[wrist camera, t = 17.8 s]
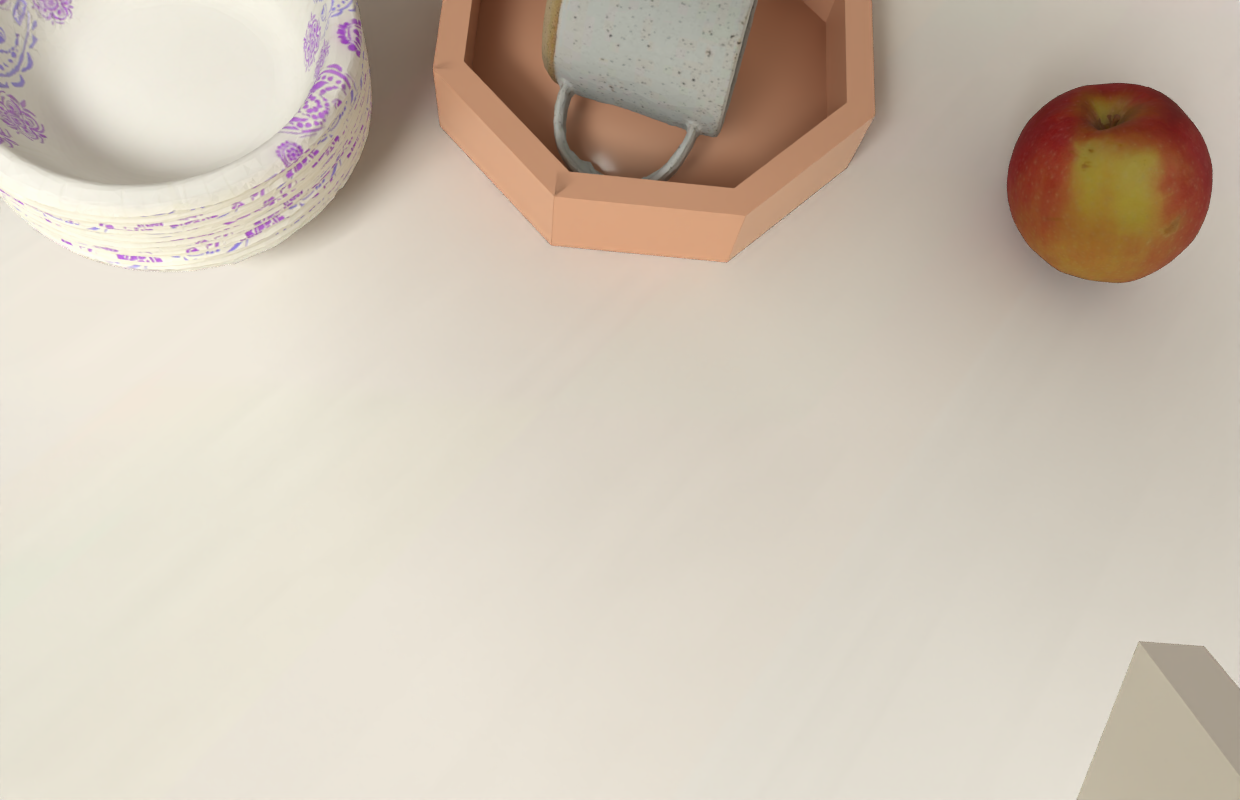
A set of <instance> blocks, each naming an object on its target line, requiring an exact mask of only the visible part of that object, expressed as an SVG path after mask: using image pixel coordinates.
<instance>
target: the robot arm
mask: <svg viewBox="0 0 1240 800" xmlns="http://www.w3.org/2000/svg"><path fill="white" fill-rule="evenodd" d="M1077 800H1240V689H1239V687H1238V686H1237V685H1236V684H1235V683H1234V681H1233V680H1232V679H1231V678H1230V677H1229V675H1228V674H1227V673H1226V672H1225V671H1224V669H1223V668H1222V667H1221V666H1220V665H1219V663H1218V662H1217V661H1216V660H1215V659H1214V657H1213V656H1212V655H1211V654H1210V653H1209V651H1208V650H1207V649H1206V648H1205V647H1204V646H1194V645H1181V644H1167V643H1154V642H1141V641H1139V642H1138V645H1137V647H1136V650H1135V652H1134V655H1133V658H1132V660H1131V663H1130V665H1129V668H1128V670H1127V673H1126V675H1125V678H1124V680H1123V683H1122V686H1121V688H1120V691H1119V693H1118V696H1117V698H1116V701H1115V703H1114V706H1113V708H1112V711H1111V714H1110V716H1109V719H1108V721H1107V724H1106V726H1105V729H1104V731H1103V734H1102V736H1101V739H1100V742H1099V744H1098V747H1097V749H1096V752H1095V754H1094V757H1093V759H1092V762H1091V764H1090V767H1089V770H1088V772H1087V775H1086V777H1085V780H1084V782H1083V785H1082V787H1081V790H1080V792H1079V795H1078V798H1077Z"/></svg>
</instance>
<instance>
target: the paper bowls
mask: <svg viewBox="0 0 1240 800" xmlns="http://www.w3.org/2000/svg"><path fill="white" fill-rule="evenodd" d="M371 110H372V88H371V77H370V66H369V61H368V54H367V48H366V44H365V37H364V33H363V29H362V24H361V18H360V12H359V7H358V3H357V0H0V196H1V197H2V198H3V200H4V201H5V202H6V203H7V204H8V205H9V206H10V207H11V208H12V209H13V210H14V211H15V212H16V213H17V214H18V215H19V216H20V217H22V218H23V219H24V220H25V221H26V222H27V223H28V224H29V225H30V226H31V227H33V228H34V229H35V230H37V231H38V232H39V233H41V234H42V235H44V236H45V237H46V238H48V239H50V240H51V241H53V242H55V243H56V244H58V245H60V246H62V247H64V248H66V249H68V250H70V251H72V252H74V253H76V254H78V255H80V256H82V257H85V258H88V259H91V260H93V261H96V262H100V263H103V264H107V265H111V266H116V267H121V268H125V269H131V270H139V271H158V272H185V271H197V270H202V269H207V268H213V267H220V266H225V265H228V264H235V263H238V262H240V261H243V260H244V259H247V258H250V257H252V256H254V255H256V254H258V253H261V252H264V251H266V250H269V249H271V248H273V247H275V246H276V245H278V244H279V243H281V242H282V241H284V240H285V239H287V238H288V237H290V236H291V235H292V234H293V233H294V232H296V231H297V230H299V229H300V228H301V227H303V226H304V225H305V224H307V223H308V222H309V221H311V220H312V219H313V218H315V217H316V216H317V215H318V214H319V213H320V212H321V211H323V210H324V208H325V207H326V206H327V205H328V203H329V202H330V201H331V200H333V199H334V197H335V196H336V195H335V194H336V193H337V192H338V190H339V189H341V188H342V187H343V186H344V185H345V183H346V182H347V181H348V179H349V177H350V175H351V174H352V172H353V170H354V167H355V165H356V164H357V163H358V160H359V158H360V156H361V153H362V150H363V148H364V146H365V143H366V140H367V137H368V133H369V125H370V120H371V114H372V112H371Z"/></svg>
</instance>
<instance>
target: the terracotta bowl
mask: <svg viewBox="0 0 1240 800" xmlns="http://www.w3.org/2000/svg"><path fill="white" fill-rule="evenodd" d="M546 2H547V0H443V2H442V8H441V15H440V22H439V29H438V36H437V42H436V49H435V56H434V63H433V74H434V82H435V90H436V99H437V107H438V115H439V123H440V127H441V128H442V129H443V130H444V131H445V132H446V133H447V134H448V135H449V136H450V137H451V138H452V139H453V140H454V142H455V143H456V144H457V145H458V146H459V147H460V148H461V149H462V150H463V151H464V152H465V153H466V154H467V155H468V157H469V158H470V159H471V160H472V161H473V162H474V163H475V164H476V165H477V166H478V167H479V168H480V169H481V170H482V172H483V173H484V174H485V175H486V176H487V177H488V178H489V179H490V180H491V181H492V182H493V183H494V184H495V185H496V187H497V188H498V189H499V190H500V191H501V192H502V193H503V194H504V195H505V196H506V197H507V198H508V199H509V200H510V202H511V203H512V204H513V205H514V206H515V207H516V208H517V209H518V210H519V211H520V212H521V213H522V214H523V216H524V217H525V218H526V219H527V220H528V221H529V222H530V223H531V224H532V225H533V226H534V227H535V228H536V229H537V231H538V232H539V233H540V234H541V235H542V236H543V237H544V238H545V239H546V240H547V241H548V242H549V243H550V244H551V245H553V246H563V247H574V248H584V249H594V250H605V251H615V252H626V253H636V254H646V255H657V256H667V257H677V258H688V259H698V260H708V261H719V262H728V261H729V260H731V259H732V258H733V257H734V256H736V255H737V254H738V253H739V252H741V251H742V250H743V249H745V248H746V247H747V246H748V245H750V244H751V243H752V242H753V241H755V240H756V239H757V238H758V237H760V236H761V235H762V234H764V233H765V232H766V231H767V230H769V229H770V228H771V227H772V226H774V225H775V224H776V223H778V222H779V221H780V220H781V219H783V218H784V217H785V216H786V215H788V214H789V213H790V212H791V211H793V210H794V209H795V208H797V207H798V206H799V205H800V204H802V203H803V202H804V201H805V200H807V199H808V198H809V197H811V196H812V195H813V194H814V193H816V192H817V191H818V190H819V189H821V188H822V187H823V186H825V185H826V184H827V183H828V182H830V181H831V180H832V179H833V178H835V177H836V176H837V175H838V174H840V173H841V172H842V171H844V170H845V169H846V168H847V167H848V165H849V163H850V161H851V159H852V157H853V156H854V154H855V152H856V150H857V148H858V146H859V144H860V143H861V141H862V139H863V137H864V135H865V133H866V131H867V130H868V128H869V126H870V124H871V122H872V120H873V118H874V117H875V92H874V58H873V25H872V0H758V2H757V6H756V10H755V13H754V18H753V23H752V27H751V30H750V33H749V36H748V40H747V44H746V48H745V51H744V55H743V58H742V62H741V66H740V70H739V73H738V76H737V81H736V84H735V87H734V90H733V94H732V97H731V101H730V104H729V107H728V110H727V112H726V116H725V120H724V124H723V126H722V129H721V132H720V133H719V134H718V136H717V137H710V136H705V135H699V136H698V137H697V138H696V141H695V143H694V145H693V148H692V149H691V151H690V153H689V154H688V156H687V158H686V159H685V161H684V162H683V164H682V165H681V167H680V168H679V169H678V171H677V172H676V173H675V174H674V175H673V176H672V177H671V178H670V179H669V180H668V181H657V180H647V179H641V178H643V177H647V176H649V175H650V174H652V173H653V172H655V171H657V170H659V169H660V168H661V167H663V166H664V165H665V164H666V163H667V162H668V160H669V159H670V158H671V157H672V155H673V154H674V153H675V151H676V150H677V149H678V147H679V145H680V144H681V143H682V142H683V140H684V138H685V136H686V134H687V131H686V130H685V129H682V128H679V127H677V126H671V125H668V124H667V123H664V122H661V121H658V120H655V119H652V118H649V117H647V116H644V115H641V114H639V113H636V112H632V111H630V110H628V109H624V108H621V107H618V106H615V105H611V104H606V103H601V102H597V101H595V100H592V99H588V98H585V97H581V96H579V95H576V94H575V95H574V96H573V97H572V98H571V101H570V104H569V108H568V112H567V121H566V130H567V132H566V140H567V143H568V146H569V149H570V150H571V151H573V152H574V153H575V154H576V155H577V156H578V157H579V159H580V160H583V161H588V162H591V164H592V166H593V167H594V169H595V170H597V171H598V172H600V173H602V174H603V175H598V174H588V173H578V172H570V171H569V169H568V168H567V166H566V165H565V163H564V161H563V160H562V158H561V156H560V154H559V152H558V149H557V146H556V142H555V136H554V122H553V120H554V108H555V103H556V100H557V95H558V92H559V90H560V87H559V85H558V84H557V83H555V82H554V81H553V80H552V79H551V77H550V76H549V74H548V72H547V71H546V69H545V67H544V63H543V59H542V32H543V21H544V14H545V8H546Z"/></svg>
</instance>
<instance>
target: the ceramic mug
mask: <svg viewBox="0 0 1240 800" xmlns="http://www.w3.org/2000/svg"><path fill="white" fill-rule="evenodd" d="M757 2H758V0H547V2H546V8H545V14H544V21H543V32H542V59H543V63H544V67H545V69H546V71H547V72H548V74H549V76H550V77H551V79H552V80H553V81H554V82H555V83H557V84H558V85H559V87H560V90H559V92H558V95H557V100H556V103H555V108H554V120H553V122H554V136H555V142H556V146H557V149H558V152H559V154H560V156H561V158H562V160H563V161H564V163H565V165H566V166H567V168H568V169H569V171H570V172H578V173H588V174H598V175H603V174H602V173H600V172H598V171H597V170H595V169H594V167H593V166H592V164H591V162H588V161H583V160H580V159H579V157H578V156H577V155H576V154H575V153H574V152H573V151H571V150H570V149H569V146H568V143H567V140H566V132H567V130H566V121H567V112H568V108H569V104H570V101H571V98H572V97H573V96H574V95H575V94H576V95H579V96H581V97H585V98H588V99H592V100H595V101H597V102H601V103H606V104H611V105H615V106H618V107H621V108H624V109H628V110H630V111H632V112H636V113H639V114H641V115H644V116H647V117H649V118H652V119H655V120H658V121H661V122H664V123H667V124H668V125H671V126H677V127H679V128H682V129H685V130H686V131H687V134H686V136H685V138H684V140H683V142H682V143H681V144H680V145H679V147H678V149H677V150H676V151H675V153H674V154H673V155H672V157H671V158H670V159H669V160H668V162H667V163H666V164H665V165H664V166H663V167H661V168H660V169H659V170H657V171H655V172H653V173H652V174H650V175H649V176H647V177H643V178H641V179H647V180H657V181H668V180H669V179H670V178H671V177H672V176H673V175H674V174H675V173H676V172H677V171H678V169H679V168H680V167H681V165H682V164H683V162H684V161H685V159H686V158H687V156H688V154H689V153H690V151H691V149H692V148H693V145H694V143H695V141H696V138H697V137H698V136H699V135H705V136H710V137H717V136H718V134H719V133H720V132H721V129H722V126H723V124H724V120H725V116H726V112H727V110H728V107H729V104H730V101H731V97H732V94H733V90H734V87H735V84H736V81H737V76H738V73H739V70H740V66H741V62H742V58H743V55H744V51H745V48H746V44H747V40H748V36H749V33H750V30H751V27H752V23H753V18H754V13H755V10H756V6H757Z"/></svg>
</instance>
